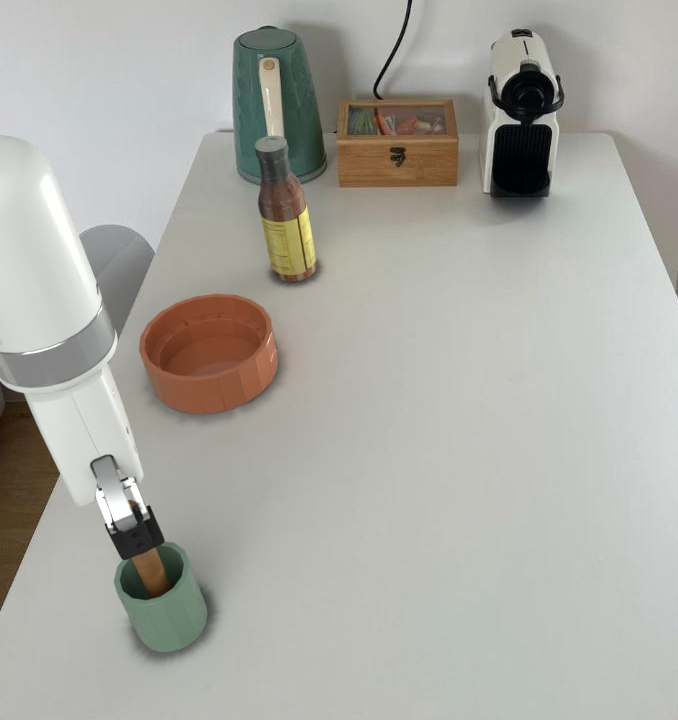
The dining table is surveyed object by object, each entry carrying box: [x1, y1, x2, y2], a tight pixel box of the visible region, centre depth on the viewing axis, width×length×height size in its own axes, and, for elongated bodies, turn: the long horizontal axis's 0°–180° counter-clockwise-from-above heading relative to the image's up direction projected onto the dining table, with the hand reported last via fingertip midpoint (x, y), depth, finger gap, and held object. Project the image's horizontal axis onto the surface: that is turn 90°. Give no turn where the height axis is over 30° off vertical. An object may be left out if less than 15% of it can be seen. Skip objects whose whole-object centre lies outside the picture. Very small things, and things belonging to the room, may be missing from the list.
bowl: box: [138, 293, 279, 415], centre depth 96 cm, size 15×15×6 cm
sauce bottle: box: [254, 135, 317, 283], centre depth 106 cm, size 6×6×20 cm
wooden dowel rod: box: [128, 499, 173, 599], centre depth 68 cm, size 3×2×16 cm, turn 118°
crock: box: [113, 540, 208, 653], centre depth 71 cm, size 6×6×8 cm
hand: (127, 502), depth 62 cm, fingers open, 9 cm apart
